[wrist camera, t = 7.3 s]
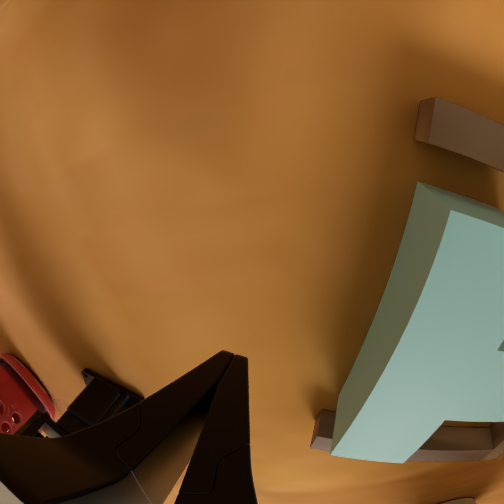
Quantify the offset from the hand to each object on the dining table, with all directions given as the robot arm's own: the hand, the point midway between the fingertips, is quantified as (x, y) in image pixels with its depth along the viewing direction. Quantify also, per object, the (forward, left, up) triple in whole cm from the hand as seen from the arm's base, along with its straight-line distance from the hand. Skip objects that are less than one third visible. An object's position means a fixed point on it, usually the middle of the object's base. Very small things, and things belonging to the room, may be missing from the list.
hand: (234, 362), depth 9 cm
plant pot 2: (-26, +30, -5) cm, 40 cm away
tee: (0, -11, -5) cm, 12 cm away
